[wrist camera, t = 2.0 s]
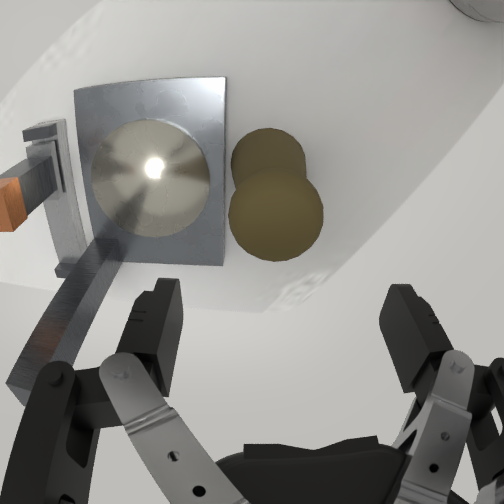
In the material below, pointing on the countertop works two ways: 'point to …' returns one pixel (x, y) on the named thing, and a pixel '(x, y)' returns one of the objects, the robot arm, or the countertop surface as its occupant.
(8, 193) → the lever
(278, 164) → the cork
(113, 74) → the countertop surface
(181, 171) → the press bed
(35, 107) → the countertop surface
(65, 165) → the lever rail
